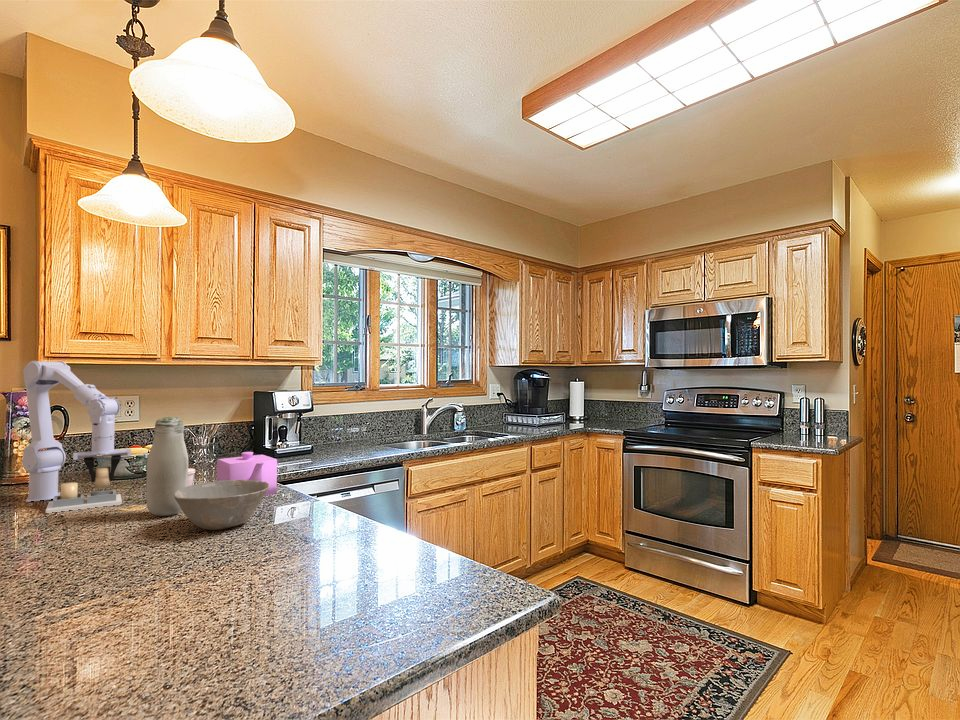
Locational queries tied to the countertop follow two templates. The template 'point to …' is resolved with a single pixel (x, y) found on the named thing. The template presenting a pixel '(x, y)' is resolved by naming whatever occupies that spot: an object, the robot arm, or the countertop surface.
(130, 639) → the countertop surface
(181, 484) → the glass bottle
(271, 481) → the teapot
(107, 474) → the jaw peg
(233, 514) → the ceramic bowl
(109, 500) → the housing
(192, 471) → the smoothie
